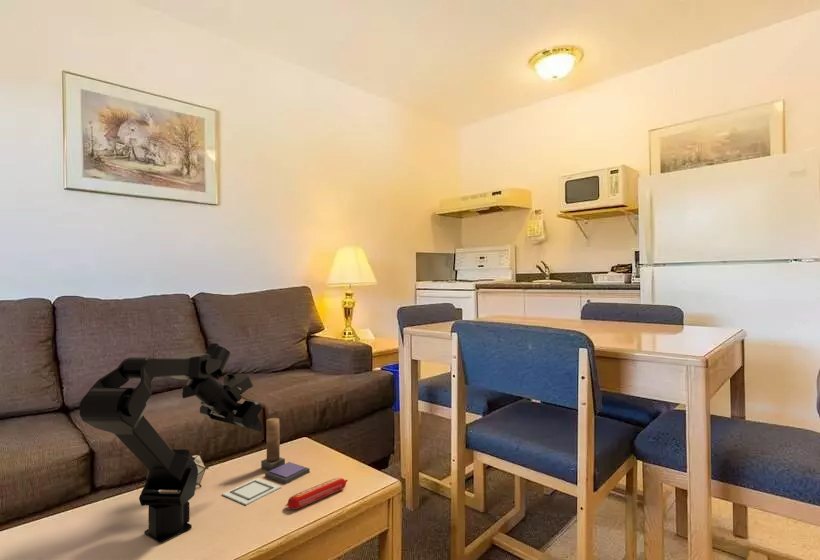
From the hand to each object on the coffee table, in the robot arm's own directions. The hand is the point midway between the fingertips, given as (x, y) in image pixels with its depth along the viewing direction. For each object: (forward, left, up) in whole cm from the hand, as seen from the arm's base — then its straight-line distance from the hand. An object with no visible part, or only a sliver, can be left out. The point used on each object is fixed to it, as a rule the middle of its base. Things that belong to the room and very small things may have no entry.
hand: (250, 426), depth 111 cm
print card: (-5, -7, -13) cm, 16 cm away
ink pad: (+6, -7, -13) cm, 16 cm away
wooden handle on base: (+8, 0, -13) cm, 15 cm away
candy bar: (+2, -23, -14) cm, 26 cm away
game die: (-12, +8, -13) cm, 20 cm away
